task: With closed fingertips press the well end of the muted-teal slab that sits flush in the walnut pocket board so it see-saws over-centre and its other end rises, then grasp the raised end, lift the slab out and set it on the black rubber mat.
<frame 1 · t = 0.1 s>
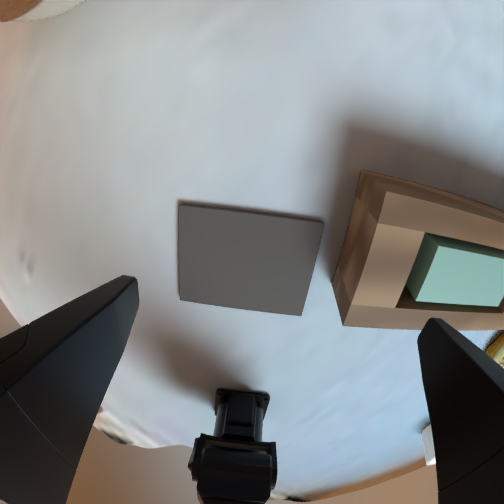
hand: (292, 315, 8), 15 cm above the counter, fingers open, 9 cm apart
teal slab: (460, 264, 20), point 3 cm above the counter, touching pocket board
white tapered cylinder: (434, 426, 39), on the counter
rubber mat: (245, 263, 24), on the counter
pocket board: (445, 248, 22), on the counter
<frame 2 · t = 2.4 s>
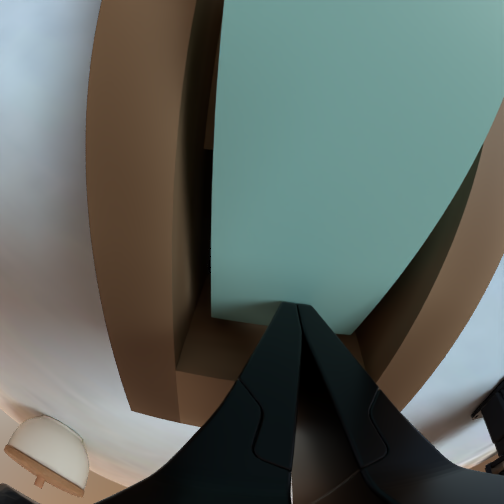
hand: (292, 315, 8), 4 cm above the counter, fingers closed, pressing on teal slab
teal slab: (324, 140, 7), point 3 cm above the counter, tilted 21°, touching gripper, pocket board
pocket board: (309, 128, 9), on the counter
lidded jar: (62, 428, 26), on the counter
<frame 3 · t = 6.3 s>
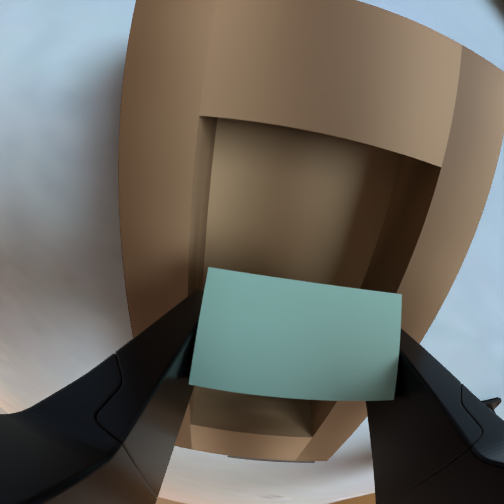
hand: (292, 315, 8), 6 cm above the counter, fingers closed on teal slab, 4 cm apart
teal slab: (278, 313, 11), point 3 cm above the counter, tilted 42°, touching gripper, pocket board
pocket board: (278, 263, 14), on the counter
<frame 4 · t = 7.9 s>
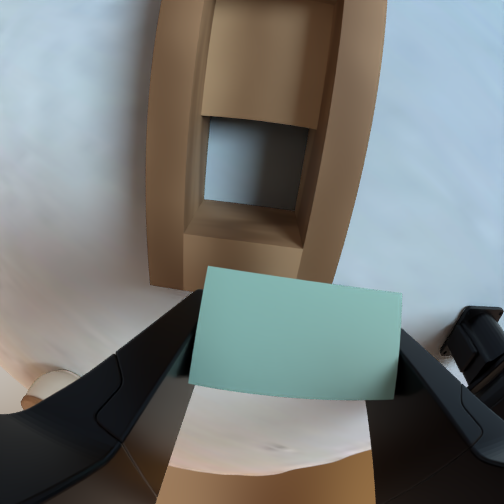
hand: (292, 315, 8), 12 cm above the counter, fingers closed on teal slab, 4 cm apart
teal slab: (278, 311, 11), point 10 cm above the counter, tilted 42°, touching gripper
pocket board: (261, 105, 16), on the counter
lidded jar: (75, 382, 32), on the counter
when the fingers open (7 cm above the counter, at t = 9.8 s): teal slab drops 4 cm, resting on rubber mat.
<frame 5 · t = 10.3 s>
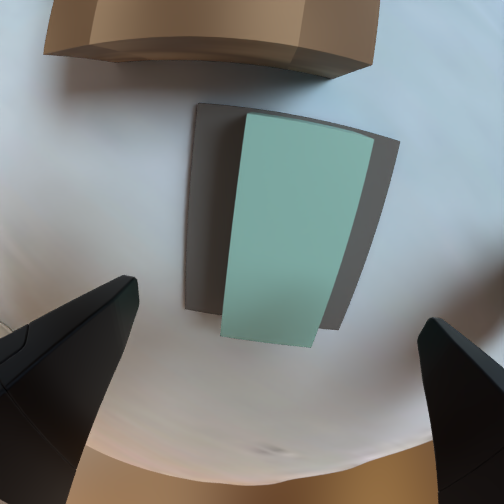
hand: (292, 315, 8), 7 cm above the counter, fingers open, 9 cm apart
teal slab: (284, 227, 14), resting on rubber mat
rubber mat: (281, 230, 14), on the counter
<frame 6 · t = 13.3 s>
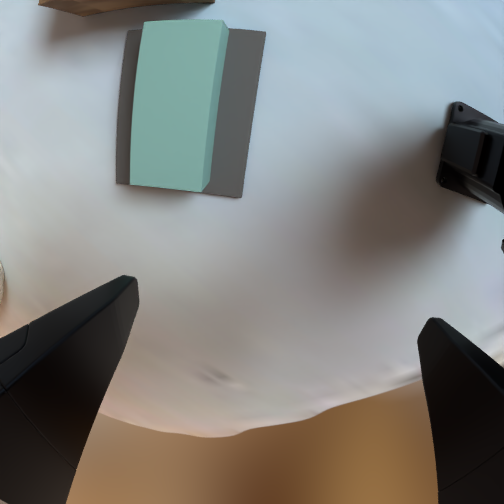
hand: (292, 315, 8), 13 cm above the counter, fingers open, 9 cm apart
teal slab: (182, 102, 16), resting on rubber mat
rubber mat: (183, 107, 17), on the counter
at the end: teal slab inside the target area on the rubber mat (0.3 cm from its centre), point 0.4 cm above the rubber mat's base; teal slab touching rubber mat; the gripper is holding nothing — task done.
